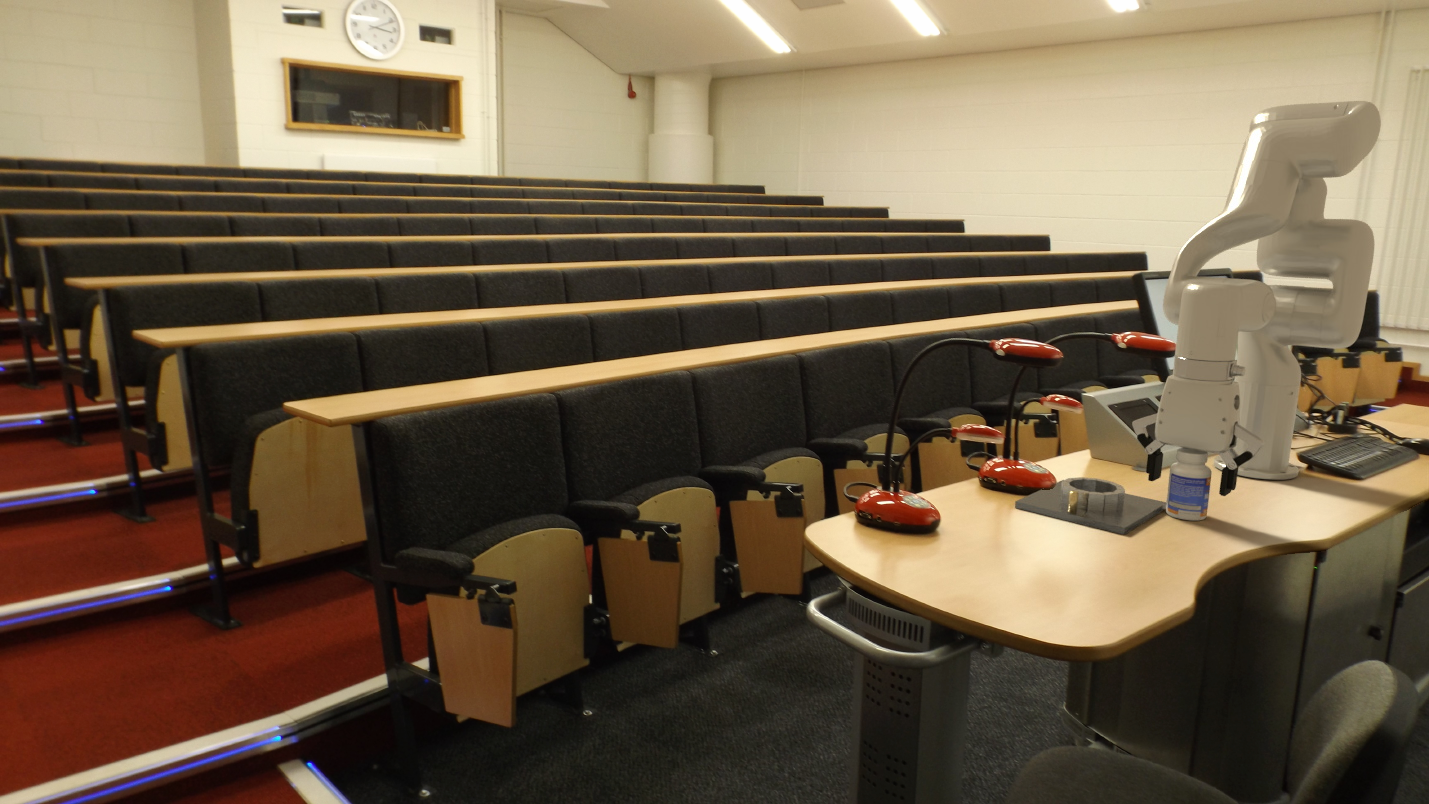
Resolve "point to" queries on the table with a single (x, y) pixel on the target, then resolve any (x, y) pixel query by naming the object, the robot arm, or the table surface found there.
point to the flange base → (1093, 517)
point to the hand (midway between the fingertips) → (1188, 486)
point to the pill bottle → (1189, 485)
